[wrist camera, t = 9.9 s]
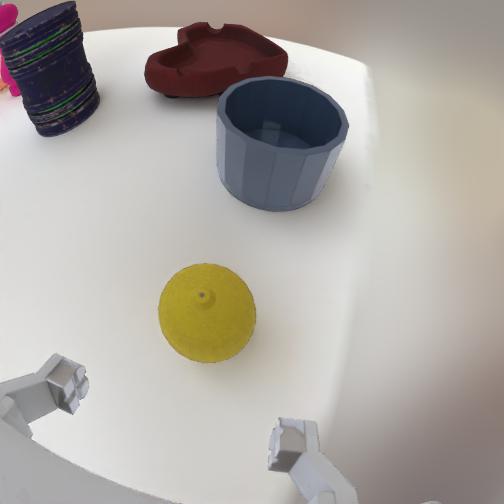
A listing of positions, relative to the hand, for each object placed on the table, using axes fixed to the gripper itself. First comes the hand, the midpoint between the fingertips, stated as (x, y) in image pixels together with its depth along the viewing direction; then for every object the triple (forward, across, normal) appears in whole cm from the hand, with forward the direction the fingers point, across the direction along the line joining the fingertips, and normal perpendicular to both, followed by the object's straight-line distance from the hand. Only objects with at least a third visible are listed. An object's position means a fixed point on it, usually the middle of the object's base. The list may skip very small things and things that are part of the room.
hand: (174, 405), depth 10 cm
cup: (+21, -2, -8) cm, 22 cm away
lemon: (+10, 0, +3) cm, 10 cm away
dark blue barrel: (+24, +26, -12) cm, 38 cm away
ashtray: (+32, +7, -19) cm, 38 cm away
